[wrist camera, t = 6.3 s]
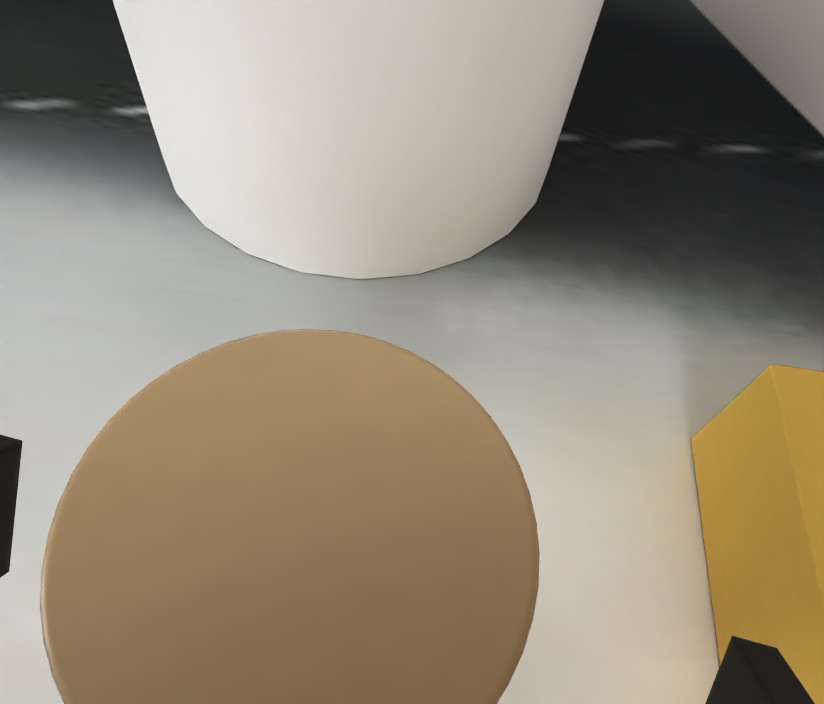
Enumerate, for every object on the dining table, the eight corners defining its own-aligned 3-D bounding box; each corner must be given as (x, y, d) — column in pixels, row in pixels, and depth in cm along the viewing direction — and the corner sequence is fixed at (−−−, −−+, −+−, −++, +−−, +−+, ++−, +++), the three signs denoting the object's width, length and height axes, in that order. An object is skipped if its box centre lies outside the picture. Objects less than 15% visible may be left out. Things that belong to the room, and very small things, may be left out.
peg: (235, 661, 17) (-28, 450, 5) (363, 579, 19) (379, 267, 7) (306, 815, 15) (153, 997, 4) (441, 711, 17) (642, 606, 5)
